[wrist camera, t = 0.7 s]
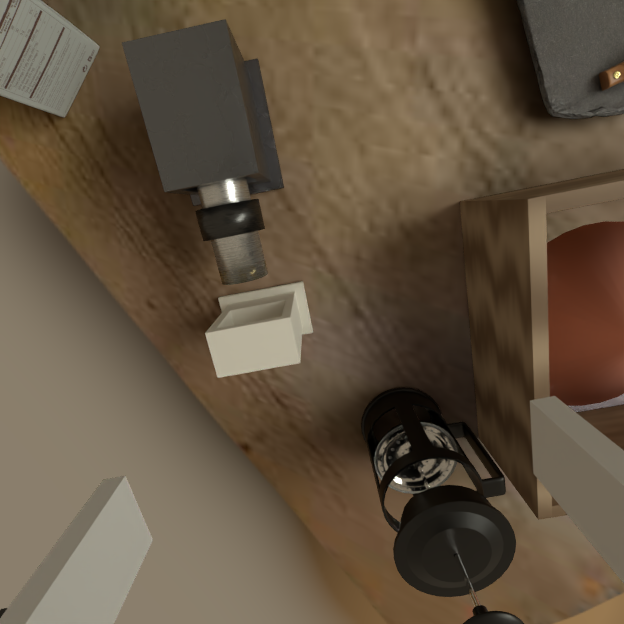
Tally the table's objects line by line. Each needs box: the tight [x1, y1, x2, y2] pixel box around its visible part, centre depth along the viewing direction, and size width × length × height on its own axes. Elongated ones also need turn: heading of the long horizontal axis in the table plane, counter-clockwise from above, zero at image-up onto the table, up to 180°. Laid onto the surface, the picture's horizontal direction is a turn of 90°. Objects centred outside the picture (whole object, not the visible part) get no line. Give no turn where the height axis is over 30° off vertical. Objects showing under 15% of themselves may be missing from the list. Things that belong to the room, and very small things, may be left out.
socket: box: [205, 281, 313, 378], centre depth 35 cm, size 6×9×10 cm, turn 101°
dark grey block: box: [122, 19, 284, 206], centre depth 30 cm, size 11×9×10 cm
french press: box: [361, 387, 524, 624], centre depth 33 cm, size 12×9×23 cm
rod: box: [195, 177, 268, 285], centre depth 30 cm, size 16×5×5 cm, turn 11°
